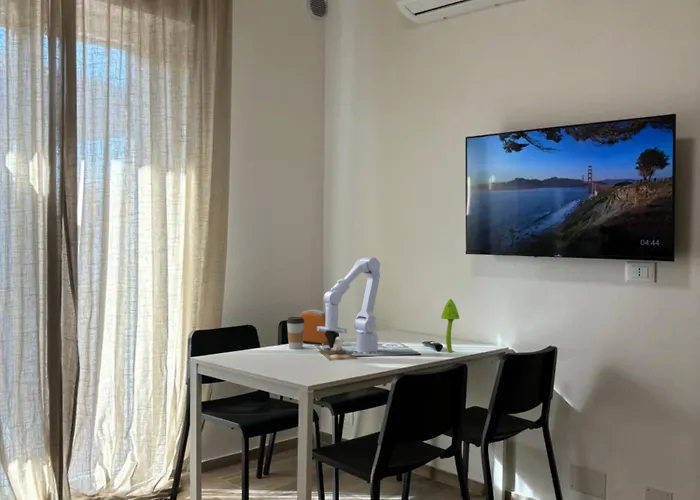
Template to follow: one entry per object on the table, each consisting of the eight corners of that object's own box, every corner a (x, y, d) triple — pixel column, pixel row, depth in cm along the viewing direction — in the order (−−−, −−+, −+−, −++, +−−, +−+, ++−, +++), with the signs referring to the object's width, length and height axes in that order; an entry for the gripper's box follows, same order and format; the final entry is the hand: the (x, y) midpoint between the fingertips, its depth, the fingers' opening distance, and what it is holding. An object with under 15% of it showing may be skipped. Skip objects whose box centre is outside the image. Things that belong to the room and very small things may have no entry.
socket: (341, 350, 324) (341, 347, 324) (346, 353, 316) (346, 350, 316) (323, 351, 322) (323, 348, 322) (328, 354, 314) (328, 351, 314)
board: (344, 350, 328) (344, 349, 328) (358, 360, 305) (358, 359, 305) (317, 352, 324) (317, 350, 324) (329, 361, 301) (329, 360, 301)
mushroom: (462, 352, 325) (463, 298, 324) (452, 354, 319) (453, 300, 318) (447, 349, 330) (448, 297, 329) (437, 352, 324) (437, 298, 323)
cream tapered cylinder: (331, 349, 322) (333, 336, 322) (342, 351, 322) (343, 338, 321) (328, 354, 313) (330, 341, 312) (339, 356, 313) (341, 343, 312)
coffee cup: (301, 351, 327) (301, 319, 326) (284, 350, 329) (284, 318, 328) (306, 347, 335) (306, 316, 335) (289, 347, 337) (289, 316, 336)
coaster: (347, 354, 315) (347, 353, 315) (352, 358, 307) (352, 357, 307) (328, 355, 313) (328, 354, 313) (332, 359, 304) (332, 358, 304)
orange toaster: (338, 343, 347) (338, 310, 347) (328, 346, 340) (328, 312, 339) (299, 339, 359) (299, 307, 359) (289, 342, 352) (289, 309, 351)
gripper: (313, 317, 315) (313, 347, 315) (341, 320, 307) (340, 350, 308) (321, 316, 321) (321, 345, 321) (349, 318, 313) (348, 348, 314)
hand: (331, 348), depth 315 cm, fingers closed, pressing on cream tapered cylinder
